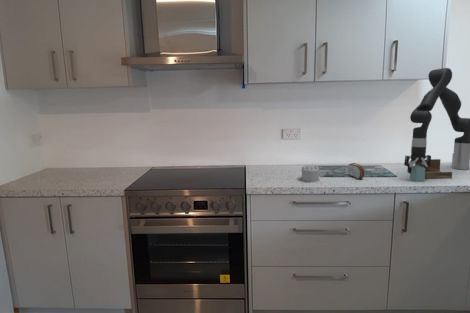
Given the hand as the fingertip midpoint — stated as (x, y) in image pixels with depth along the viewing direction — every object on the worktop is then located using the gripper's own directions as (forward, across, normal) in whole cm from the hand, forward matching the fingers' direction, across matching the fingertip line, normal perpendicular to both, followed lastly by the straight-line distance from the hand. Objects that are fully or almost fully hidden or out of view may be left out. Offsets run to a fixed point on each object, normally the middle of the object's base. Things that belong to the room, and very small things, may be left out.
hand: (416, 173), depth 194 cm
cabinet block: (+4, 0, 0) cm, 4 cm away
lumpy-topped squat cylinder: (+5, +60, -8) cm, 61 cm away
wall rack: (+4, -14, -9) cm, 17 cm away
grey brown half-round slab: (+5, +32, -11) cm, 34 cm away
